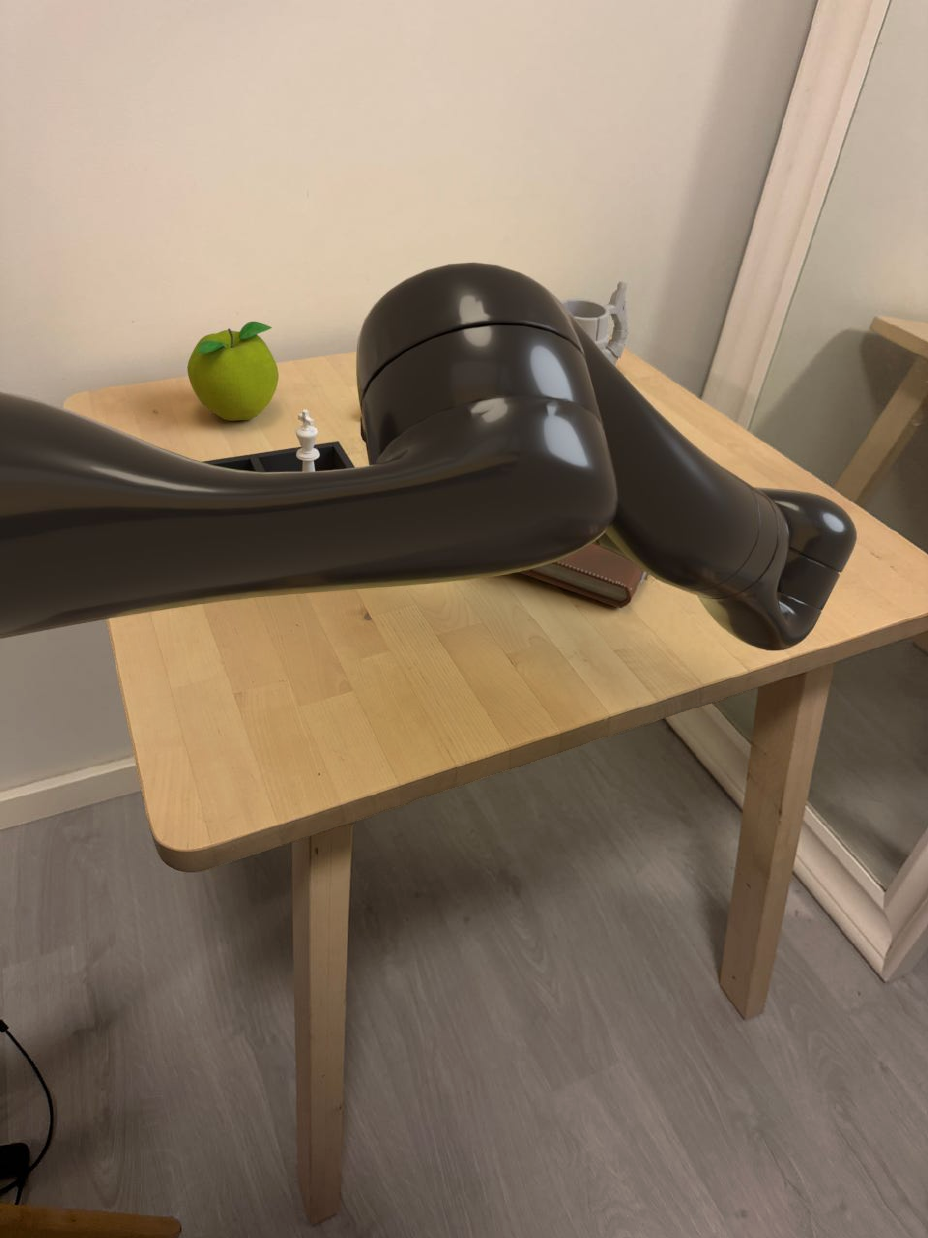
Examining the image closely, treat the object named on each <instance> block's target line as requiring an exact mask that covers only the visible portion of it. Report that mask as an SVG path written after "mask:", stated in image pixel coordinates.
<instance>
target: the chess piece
mask: <svg viewBox="0 0 928 1238" xmlns="http://www.w3.org/2000/svg"><path fill="white" fill-rule="evenodd" d="M297 420H299V421H301V422H302V425H300V426H298V427H297V428H296V429H295V431H294V432H295V436H296V438H297V440H298V442H299V445H300V447H302V448H301V449H299V450H298V451H297V453H296V456H297V458H298V459H300V460H303V469H302V472H313V471H315V467H314V460H316V459H317V458H318V457H319V456H320V454H319V451H318V450H317V449H315V448H313V447H314V445H315V444H316V440H317V437H318V434H319V431H318V428H317V427H315V419H313V418H311V417H310V411H309V410H308V409H305V408H304V409H303V410H301V413H299V414H297Z"/></svg>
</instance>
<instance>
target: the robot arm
mask: <svg viewBox="0 0 928 1238" xmlns="http://www.w3.org/2000/svg"><path fill="white" fill-rule="evenodd" d="M355 370H356V371H355V377H356V389H357V395H358V396H357V397H358V403H359V407H360V415H361V416H360V437H361V440H362V441H363V442H364V443H365V447H366V453H367V460H368V465H364V466H354V467H355V468H348V469H340V470H327V471H313V472H254V471H244V470H235V469H230V468H225V467H220V466H215V465H211V464H207V463H204V462H203V461H201V460H197V459H193V458H190V457H187V456H185V455H182V454H179V453H177V452H174V451H171V450H169V449H166V448H163V447H161V446H158V445H156V444H153V443H150V442H148V441H146V440H143V439H141V438H138V437H136V436H134V435H131V434H129V433H126V432H125V431H122V430H119V429H117V428H115V427H113V426H110V425H107V424H105V423H102V422H100V421H98V420H96V419H92V418H90V417H88V416H87V415H84V414H80V413H77V412H75V411H71V410H69V409H66V408H65V407H62V406H59V405H55V404H53V403H51V402H47V401H44V400H41V399H38V398H33V397H30V396H26V395H21V394H18V393H12V392H7V391H0V640H2V639H3V640H4V639H7V638H13V637H19V636H23V635H27V634H33V633H39V632H43V631H49V630H55V629H60V628H64V627H65V628H66V627H70V626H71V627H72V626H75V625H76V626H77V625H81V624H86V623H87V624H88V623H92V622H97V621H98V622H99V621H103V620H109V619H110V620H111V619H116V618H122V617H128V616H133V615H139V614H146V613H152V612H153V613H154V612H159V611H166V610H173V609H178V608H186V607H192V606H199V605H205V604H213V603H219V602H220V603H221V602H227V601H237V600H246V599H247V600H248V599H256V598H267V597H279V596H290V595H291V596H292V595H303V594H313V593H314V594H315V593H326V592H327V593H328V592H339V591H353V590H365V589H367V590H368V589H380V588H392V587H393V588H394V587H407V586H419V585H429V584H430V585H431V584H441V583H442V584H443V583H451V582H462V581H470V580H478V579H479V580H480V579H487V578H492V577H500V576H506V575H511V574H514V573H520V571H525V570H529V569H532V568H536V567H540V566H543V565H546V564H549V563H553V562H556V561H559V560H561V559H563V558H566V557H568V556H570V555H572V554H574V553H576V552H578V551H580V550H582V549H584V548H586V547H588V546H589V545H591V544H595V545H598V546H600V547H602V548H604V549H607V550H609V551H611V552H613V553H615V554H618V555H620V556H622V557H624V558H626V559H628V560H631V561H632V562H633V563H634V564H635V565H637V566H638V567H639V568H640V569H642V570H643V571H645V572H646V573H648V574H649V575H648V576H651V577H652V578H654V579H655V580H657V581H659V582H661V583H664V584H666V585H669V586H671V587H673V588H675V589H678V590H681V591H683V592H686V593H688V594H692V595H695V596H696V597H697V598H698V600H699V602H700V603H701V605H702V606H703V607H704V609H705V610H706V612H707V613H708V614H709V615H710V617H711V618H712V619H713V620H714V621H715V622H716V623H717V624H718V625H719V627H720V628H722V629H723V630H724V631H725V632H727V633H728V634H730V635H731V636H732V637H734V638H735V639H737V640H739V641H740V642H742V643H744V644H746V645H748V646H750V647H753V648H756V649H759V650H763V651H764V650H765V651H772V652H775V651H778V652H779V651H784V650H788V649H791V648H793V647H795V646H797V645H799V644H800V643H802V642H803V641H804V640H806V639H807V637H808V636H809V635H810V634H811V632H812V631H813V630H814V628H815V627H816V624H817V622H818V621H819V618H820V617H821V615H822V613H823V610H824V608H825V606H826V604H827V602H828V600H829V598H830V597H831V595H832V593H833V591H834V589H835V587H836V585H837V584H838V581H839V579H840V577H841V574H842V573H843V571H844V569H845V568H846V566H847V564H848V562H849V560H850V558H851V556H852V554H853V551H854V549H855V547H856V544H857V540H858V531H857V529H856V526H855V523H854V521H853V520H852V518H851V516H850V515H849V513H847V512H846V510H845V509H844V508H843V507H842V506H840V505H839V503H836V502H835V501H833V500H832V499H829V498H827V497H825V496H822V495H819V494H817V493H812V492H808V491H800V490H795V489H794V490H793V489H785V488H784V489H782V488H773V487H772V488H770V487H757V486H753V485H752V484H750V483H748V481H746V480H744V479H743V478H740V477H739V476H738V475H736V474H735V473H733V472H732V471H730V470H729V469H727V468H725V467H724V466H723V465H721V464H719V463H718V462H717V461H715V460H714V459H712V458H711V457H710V456H709V455H707V454H706V453H705V452H704V451H702V450H701V449H700V448H699V447H698V446H696V445H695V444H694V443H693V442H692V441H691V440H690V439H688V438H687V437H686V436H685V435H684V434H683V433H682V432H681V431H680V430H679V429H677V428H676V426H674V425H673V424H672V423H671V422H670V421H669V420H668V419H667V418H666V417H665V416H664V415H663V414H661V412H660V411H659V410H657V408H655V406H654V405H652V403H651V402H650V401H649V400H648V399H647V398H646V397H645V396H644V395H643V394H642V393H641V392H640V391H639V390H638V389H637V388H636V387H635V386H634V384H633V383H632V382H631V381H629V379H628V378H627V377H626V376H625V375H624V374H623V373H622V372H621V371H620V370H619V369H618V368H617V366H616V365H615V366H614V365H613V364H612V363H611V362H610V360H609V359H608V358H607V357H606V355H605V354H604V353H603V352H602V351H601V349H600V348H599V347H598V346H597V345H596V343H595V342H594V341H593V340H592V338H591V337H590V336H589V335H588V333H587V332H586V331H585V330H584V328H583V327H582V326H581V325H580V323H579V322H578V321H577V320H576V319H575V317H574V316H573V315H572V314H571V313H570V312H569V310H568V309H567V308H566V307H565V306H564V305H563V304H562V303H561V300H560V299H559V298H558V297H557V296H556V295H555V294H554V293H553V292H551V290H550V289H548V288H547V287H546V286H544V285H543V284H542V283H540V282H538V281H537V280H535V279H534V278H532V277H530V276H529V275H526V274H525V273H522V272H520V271H517V270H515V269H511V268H508V267H505V266H502V265H499V264H492V263H482V262H462V263H460V262H459V263H449V264H444V265H440V266H436V267H433V268H428V269H425V270H423V271H421V272H419V273H416V274H413V275H412V276H410V277H407V278H406V279H404V280H402V281H401V282H399V283H398V284H396V285H395V286H393V287H392V288H390V289H389V290H388V291H386V292H385V294H383V295H382V296H381V297H380V298H379V299H378V300H377V301H376V302H375V303H374V304H373V306H371V309H370V310H369V312H368V314H367V315H366V316H365V318H364V320H363V323H362V325H361V328H360V331H359V335H358V337H357V341H356V356H355Z"/></svg>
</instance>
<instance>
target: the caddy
mask: <svg viewBox="0 0 928 1238" xmlns="http://www.w3.org/2000/svg"><path fill="white" fill-rule="evenodd" d="M301 448H302V447H301V446H296V447H289V448H282V449H276V450H270V451H269V450H268V451H263V452H256V453H251V454H243V455H235V456H229V457H222V458H216V459H210V460H203V461H202V462H204V463H207V464H211V465H215V466H220V467H225V468H230V469H235V470H244V471H254V472H302V469H303V460H300V459H298V458H297V456H296V453H297V451H298V450H299V449H301ZM313 448H315V449H317V450H318V451H319V454H320V456H319V457H318V458H317V459H316V460H314V467H315V471H327V470H340V469H348V468H355V467H356V466H355V465H354V463H353V462H352V460H351V459H350V457H349V455H348V454H347V452H346V450H345V449H344V447H343V446H342V444H341V442H340V441H339V440H337V441H331V442H330V441H329V442H323V443H315V444H314V447H313Z"/></svg>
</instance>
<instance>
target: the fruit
mask: <svg viewBox="0 0 928 1238" xmlns="http://www.w3.org/2000/svg"><path fill="white" fill-rule="evenodd" d="M231 329H232V328H231V327H228V328H227V329H225V330H221V331H219V332H216V333H209V334H206V335H204V336H203V337H202V338H200V339H199V341H198V342H197V344H196V345H195V347H194V349H193V351H192V352H191V355H190V356H189V359H188V362H187V376H188V379H189V383H190V385H191V387H192V389H193V392H194V394H195V395H196V397H197V398H198V400H199V401H200V402H201V404H202V405H204V407H205V408H207V409H208V410H209V411H210V412H212V413H213V414H215V415H216V416H218V417H220V418H221V419H222V420H225V421H228V422H234V421H236V422H237V421H248V420H252V419H254V418H256V417H257V416H259V415H260V414H261V413H262V412H263V411H264V410H265V409H266V408H267V407H268V405H269V404H270V403H271V401H272V399H273V397H274V395H275V393H276V391H277V387H278V383H279V377H280V376H279V374H280V373H279V369H278V365H277V363H276V360H275V357H274V355H273V354H272V352H271V350H270V348H269V347H268V345H267V343H266V342H265V341H264V340H263V339H262V337H261V336H260V335H259V334H261V333H263V332H267V331H269V330H271V329H273V327H272V326H270V325H268V324H265V323H262V322H259V321H249V322H246V323H245V324H244V325H243V326H242V327H241V329H240V330H239V331H237V330H231Z"/></svg>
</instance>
